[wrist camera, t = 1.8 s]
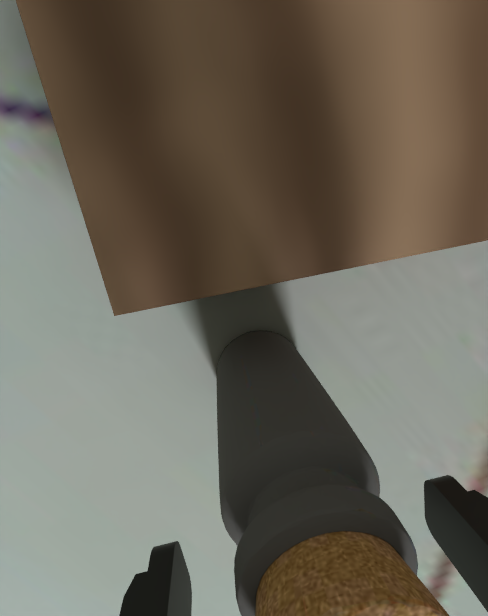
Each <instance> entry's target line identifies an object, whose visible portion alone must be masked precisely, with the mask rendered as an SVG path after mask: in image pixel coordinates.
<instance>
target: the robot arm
mask: <svg viewBox="0 0 488 616" xmlns="http://www.w3.org/2000/svg"><path fill="white" fill-rule="evenodd" d="M424 500H425V519H426V522H427V525H428V528H429V530H430V532H431V534H432V536H433V537H434V539H435V540H436V542H437V543H438V544H439V546H440V547H441V548H442V550H443V551H444V553H445V554H446V555H447V557H448V558H449V559H450V561H451V562H452V564H453V565H454V566H455V568H456V569H457V570H458V572H459V573H460V575H461V576H462V577H463V579H464V580H465V581H466V583H467V584H468V586H469V587H470V588H471V590H472V591H473V592H474V594H475V595H476V597H477V598H478V599H479V601H480V602H481V603H482V605H483V606H484V608H485V609H486V610H487V612H488V498H487V497H486V496H484V495H482V494H481V493H479V492H477V491H476V490H472V491H468V492H467V491H466V490H465V489H464V488H463V487H462V486H461V485H460V484H459V483H458V482H457V481H456V480H455V479H454V478H453V477H451V476H449V475H446V476H442V477H438V478H434V479H430V480H426V481H425V483H424ZM191 605H192V591H191V581H190V576H189V572H188V569H187V566H186V563H185V560H184V556H183V553H182V550H181V547H180V544H179V542H178V541H176V542H172V543H168V544H164V545H160V546H156V547H153V549H152V551H151V555H150V561H149V567H148V571H147V572H143V573H139V574H136V575H135V577H134V579H133V580H132V582H131V584H130V586H129V588H128V590H127V592H126V594H125V596H124V598H123V603H122V607H121V611H120V616H191Z"/></svg>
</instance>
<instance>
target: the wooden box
mask: <svg viewBox="0 0 488 616" xmlns="http://www.w3.org/2000/svg"><path fill="white" fill-rule="evenodd" d="M16 3H17V6H18V9H19V12H20V15H21V19H22V22H23V25H24V28H25V31H26V35H27V38H28V41H29V44H30V47H31V51H32V54H33V57H34V60H35V63H36V67H37V70H38V73H39V76H40V79H41V83H42V86H43V89H44V92H45V95H46V99H47V102H48V105H49V108H50V111H51V115H52V118H53V121H54V124H55V127H56V131H57V134H58V137H59V140H60V143H61V147H62V150H63V153H64V156H65V159H66V162H67V166H68V169H69V172H70V175H71V178H72V182H73V185H74V188H75V191H76V194H77V198H78V201H79V204H80V207H81V210H82V214H83V217H84V220H85V223H86V226H87V230H88V233H89V236H90V239H91V242H92V246H93V249H94V252H95V255H96V258H97V262H98V265H99V268H100V271H101V274H102V278H103V281H104V284H105V287H106V290H107V294H108V297H109V300H110V303H111V306H112V310H113V313H114V316H117V315H121V314H126V313H131V312H136V311H141V310H146V309H151V308H156V307H161V306H166V305H171V304H176V303H181V302H186V301H190V300H195V299H200V298H205V297H210V296H215V295H220V294H225V293H230V292H235V291H240V290H245V289H250V288H255V287H259V286H264V285H269V284H274V283H279V282H284V281H289V280H294V279H299V278H304V277H309V276H314V275H319V274H324V273H328V272H333V271H338V270H343V269H348V268H353V267H358V266H363V265H368V264H373V263H378V262H383V261H388V260H392V259H397V258H402V257H407V256H412V255H417V254H422V253H427V252H432V251H437V250H442V249H447V248H452V247H457V246H461V245H466V244H471V243H476V242H481V241H486V240H488V0H16Z"/></svg>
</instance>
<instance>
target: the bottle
mask: <svg viewBox="0 0 488 616" xmlns="http://www.w3.org/2000/svg"><path fill="white" fill-rule="evenodd" d="M217 424H218V458H219V489H220V505H221V514H222V519H223V522H224V525H225V528H226V530H227V532H228V533H229V535H230V537H231V538H232V539H233V541H234V542H235V543H236V544H237V545H238V546H237V551H236V555H235V566H234V573H235V587H236V599H237V603H238V607H239V611H240V613H241V615H242V616H449V615H448V614H447V612H446V611H445V610H444V609H443V607H442V606H441V605H440V604H439V602H438V601H437V600H436V599H435V598H434V596H433V595H432V594H431V593H430V592H429V590H428V589H427V588H426V587H425V585H424V584H423V583H422V582H421V581H420V579H419V578H418V577H417V569H418V562H417V554H416V550H415V547H414V545H413V542H412V540H411V538H410V536H409V535H408V533H407V531H406V530H405V528H404V527H403V525H402V524H401V522H400V520H399V519H398V517H397V516H396V514H395V513H394V511H393V510H392V509H391V508H390V507H389V506H388V505H387V504H386V503H385V502H384V501H383V500H382V499H381V498H379V494H380V484H379V476H378V473H377V469H376V467H375V465H374V463H373V461H372V459H371V457H370V456H369V454H368V453H367V451H366V449H365V448H364V446H363V445H362V443H361V442H360V440H359V439H358V437H357V436H356V434H355V433H354V431H353V430H352V428H351V426H350V425H349V424H348V422H347V421H346V419H345V418H344V416H343V415H342V414H341V412H340V411H339V409H338V408H337V406H336V405H335V404H334V402H333V401H332V399H331V398H330V396H329V395H328V394H327V392H326V391H325V389H324V388H323V386H322V385H321V383H320V382H319V381H318V379H317V378H316V376H315V375H314V373H313V372H312V371H311V369H310V368H309V366H308V365H307V363H306V362H305V361H304V359H303V358H302V357H301V355H300V354H299V352H298V351H297V350H296V348H295V347H294V346H293V345H292V344H291V343H290V342H289V341H288V340H287V339H286V338H284V337H282V336H281V335H279V334H276V333H273V332H268V331H254V332H249V333H246V334H244V335H241V336H239V337H238V338H236V339H234V340H233V341H232V342H231V343H230V344H229V345H228V346H227V347H226V348H225V350H224V351H223V353H222V355H221V357H220V359H219V362H218V367H217Z"/></svg>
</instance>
